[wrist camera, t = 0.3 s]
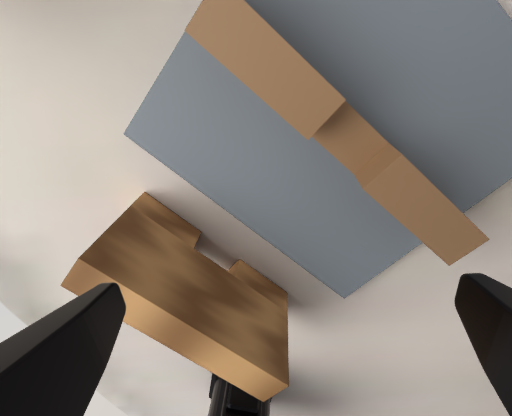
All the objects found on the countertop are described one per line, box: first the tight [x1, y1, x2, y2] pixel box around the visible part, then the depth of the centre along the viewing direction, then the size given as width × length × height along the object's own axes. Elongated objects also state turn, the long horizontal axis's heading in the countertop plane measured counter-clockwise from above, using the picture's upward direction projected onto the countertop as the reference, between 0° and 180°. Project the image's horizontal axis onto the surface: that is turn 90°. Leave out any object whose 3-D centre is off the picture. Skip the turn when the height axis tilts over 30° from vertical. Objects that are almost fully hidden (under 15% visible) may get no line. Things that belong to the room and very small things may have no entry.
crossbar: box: [60, 192, 289, 402], centre depth 20 cm, size 14×2×8 cm, turn 50°
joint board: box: [124, 0, 512, 298], centre depth 16 cm, size 20×18×5 cm
